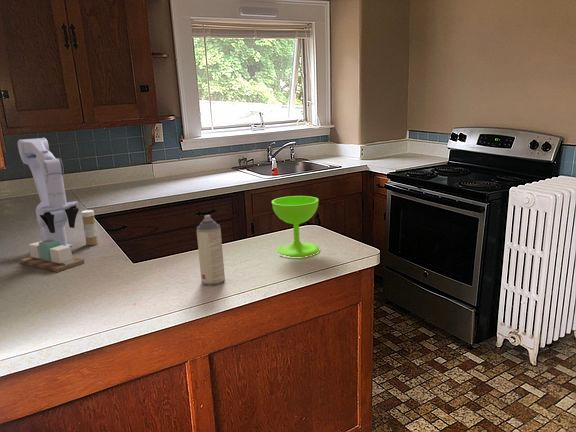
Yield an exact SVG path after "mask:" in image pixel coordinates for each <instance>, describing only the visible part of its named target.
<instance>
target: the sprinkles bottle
mask: <svg viewBox="0 0 576 432" xmlns="http://www.w3.org/2000/svg"><path fill="white" fill-rule="evenodd" d="M80 215H81V219H82V224H83V232H84V238H85V245H86V246H95V245H98V244H99V241H98V232H97V226H96V220H95V211H94V210H92V209H87V210H83V211H81V212H80Z"/></svg>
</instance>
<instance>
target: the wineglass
mask: <svg viewBox="0 0 576 432" xmlns="http://www.w3.org/2000/svg"><path fill="white" fill-rule="evenodd" d="M319 201H320V200H319V198H318V197H314V196H310V195H308V196H307V195H292V196H291V195H289V196H283V197H279V198H278V197H277V198H275V199H273V200H271V205H272V206H271V207H272V210H273V212H274V214H275V215H276V217H278V218H279V220H281V221H283V222H284V223H287V224H290V225H293V226H292V227H293V228H292V229H293V242H288V243H283V244H284V245H285V244H291V243H293V244H292V245H290V246H287V247H285V248H283V249H281V247H282V246H283V244H282V245H281V246H280V245H279V246H277V247H278V248H277V247H276V248H277V251H278V253H280V254H282V255H286V256H290V257H305V256H310V255H313V254H316V253H317V252H318V251H319V248H320V246H318V245H317V244H315V243H311V242H306V241H305V242H303V241H300V225H301V224H304V223H306V222H307V221H309V220H310V219H311V218H312V217H313V216H314V215H315V214H316V212H317V210H318V207H319ZM302 243H305V244H306V245H305V244H304V245H303V244H302Z"/></svg>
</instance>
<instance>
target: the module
mask: <svg viewBox="0 0 576 432" xmlns="http://www.w3.org/2000/svg"><path fill="white" fill-rule="evenodd" d="M38 242H39V241H38ZM57 246H60V242H59V240H54V239H49V240H45V241H42V242H39V247H40V253H41V258H42V259H44V260H48V261H51V255H50V248H54V247H57Z"/></svg>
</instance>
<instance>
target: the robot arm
mask: <svg viewBox="0 0 576 432" xmlns="http://www.w3.org/2000/svg"><path fill="white" fill-rule="evenodd" d="M49 146H50V145H49V142H48V140H47V138H45V137H41V138H26V139H18V140H17V149H18V153H19V156H20V159H21V161H22V163H23V164H25V165H28V167H29V170H30V172H31V174H32V178H33V180H34V184H35V186H36V190H37V194H38V197H39V201H40V203H38V204H37V206H36V207H35V214H36V221H37V224H38V226H40V229H39V237H40V241H45V240H49V239H54V240H59V242H60V245H64V246H69V247H73V244H70V243H68V240H67V233H66V228H65V227H66V226H65V225H66V223H67V222H68V227H69V228H70V229H74V228H75V226H76V225H75V224H76V219H77V215H78V213H79V207H80V205H79V204H80V203H79V201H78V200H77V201H76V200H75V201H68V202H67V196H66V195H67V194H66V191H65V190H66V189H65V183H64V177H63V175H64V173H65V171H64V164H63V161H62V159H61V158H60V157H57V158H56V157H55V156H54V154H53V152H51V151H50V147H49Z"/></svg>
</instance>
